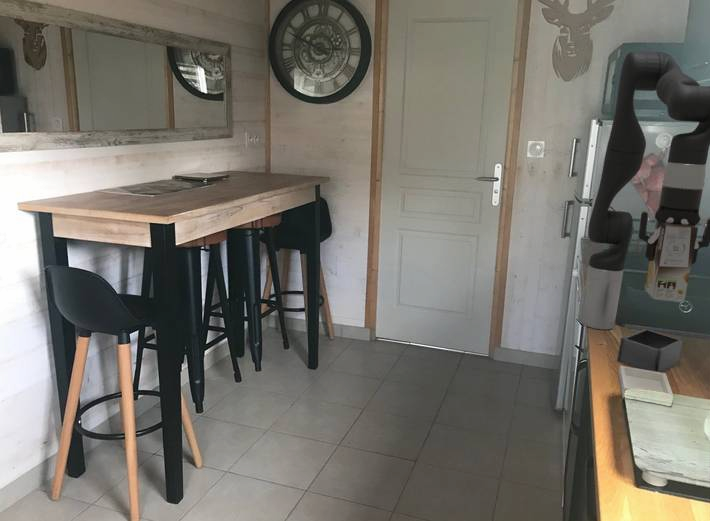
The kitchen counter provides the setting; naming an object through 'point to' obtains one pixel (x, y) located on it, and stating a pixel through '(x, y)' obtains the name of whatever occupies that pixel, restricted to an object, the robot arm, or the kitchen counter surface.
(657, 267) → the coffee box
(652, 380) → the tray
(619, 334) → the kitchen counter surface
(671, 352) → the sleeve
